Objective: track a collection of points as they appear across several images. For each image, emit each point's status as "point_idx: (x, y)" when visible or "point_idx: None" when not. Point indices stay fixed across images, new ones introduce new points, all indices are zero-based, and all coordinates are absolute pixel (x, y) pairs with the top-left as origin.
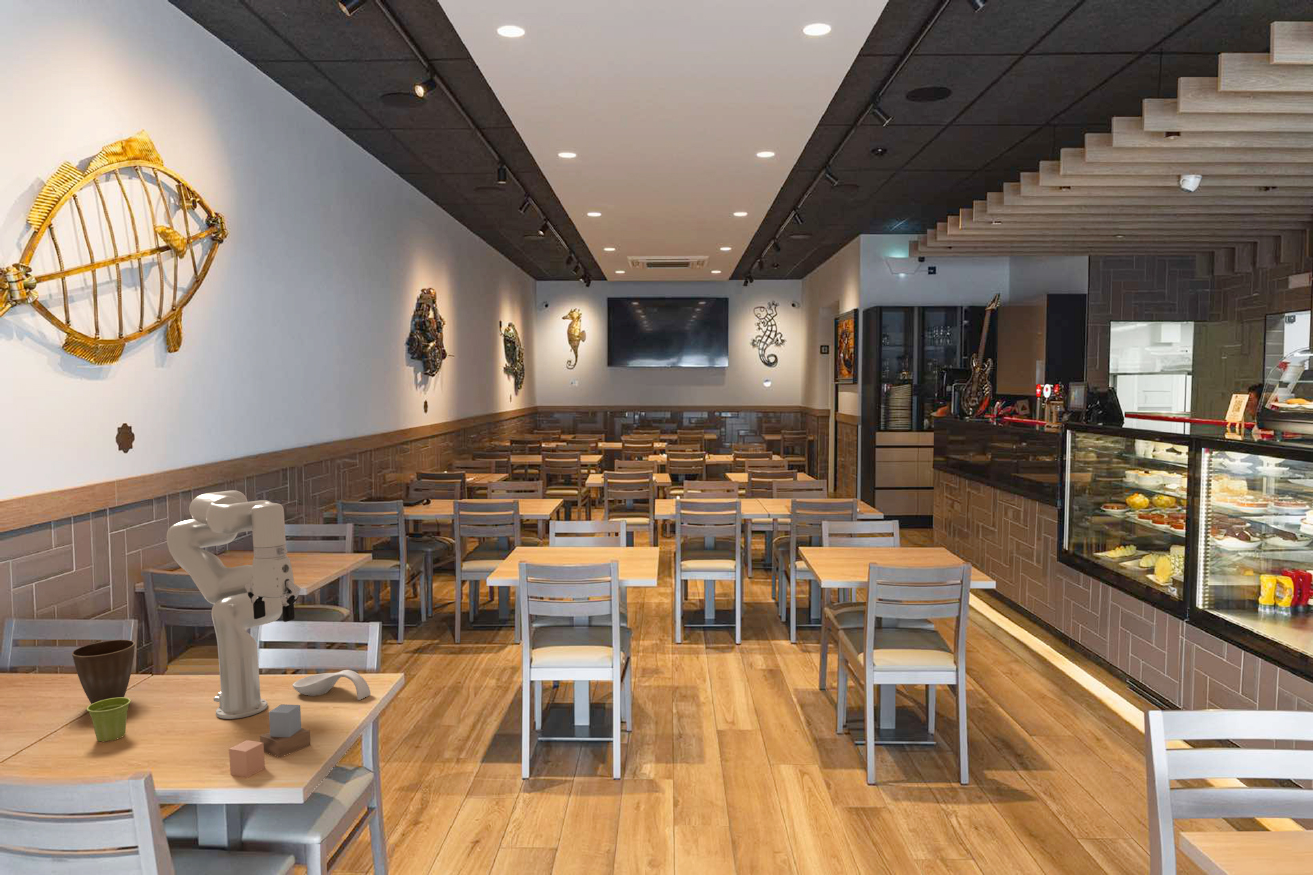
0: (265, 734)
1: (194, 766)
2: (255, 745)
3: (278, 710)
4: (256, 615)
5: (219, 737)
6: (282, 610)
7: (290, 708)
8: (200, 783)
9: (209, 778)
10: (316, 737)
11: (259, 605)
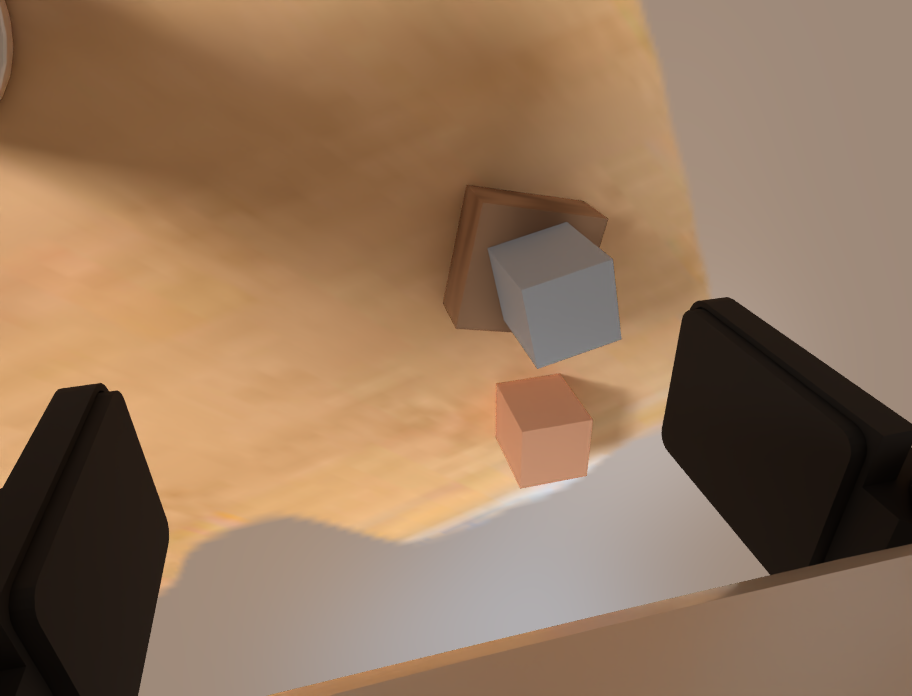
0: (467, 312)
1: (342, 457)
2: (583, 441)
3: (564, 341)
4: (159, 566)
5: (168, 295)
6: (751, 551)
7: (598, 304)
8: (462, 495)
9: (459, 473)
10: (556, 136)
11: (100, 657)
